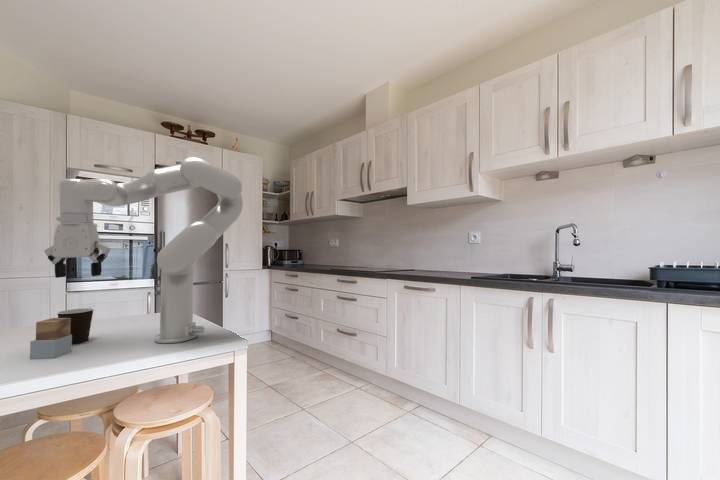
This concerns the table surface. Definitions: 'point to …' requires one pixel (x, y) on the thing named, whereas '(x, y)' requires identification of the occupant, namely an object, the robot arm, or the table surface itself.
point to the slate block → (50, 348)
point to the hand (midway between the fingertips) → (78, 276)
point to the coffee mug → (78, 323)
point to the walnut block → (53, 328)
